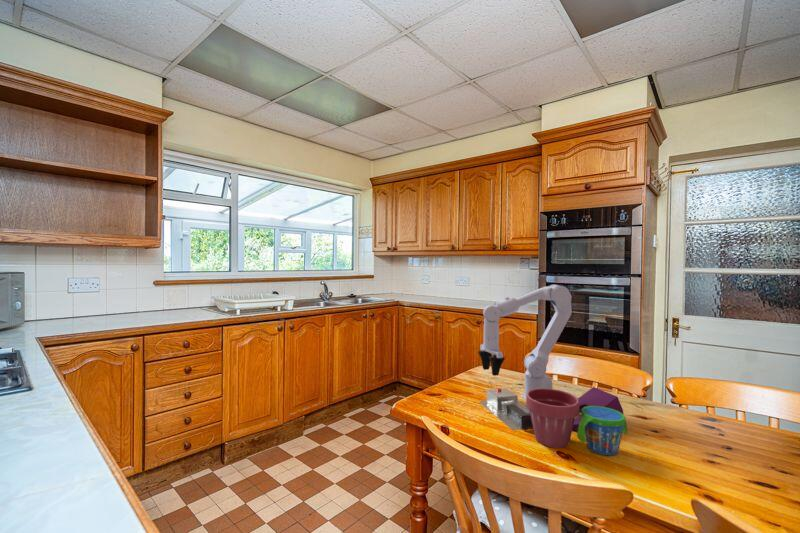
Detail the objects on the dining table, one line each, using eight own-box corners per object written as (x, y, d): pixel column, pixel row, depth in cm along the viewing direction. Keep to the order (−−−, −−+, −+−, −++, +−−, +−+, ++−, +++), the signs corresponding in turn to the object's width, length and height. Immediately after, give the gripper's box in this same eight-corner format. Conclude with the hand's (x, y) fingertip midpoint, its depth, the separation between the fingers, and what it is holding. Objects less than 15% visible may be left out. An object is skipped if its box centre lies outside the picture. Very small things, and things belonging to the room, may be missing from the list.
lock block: (506, 399, 138) (506, 386, 138) (517, 407, 130) (517, 393, 130) (486, 401, 136) (486, 388, 136) (497, 409, 128) (497, 395, 128)
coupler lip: (512, 398, 139) (512, 387, 139) (553, 426, 115) (552, 412, 115) (478, 402, 136) (478, 390, 136) (512, 431, 112) (512, 417, 112)
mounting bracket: (585, 452, 111) (626, 419, 116) (574, 428, 110) (617, 396, 114) (562, 438, 120) (602, 408, 125) (553, 416, 119) (593, 386, 124)
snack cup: (611, 437, 108) (611, 402, 108) (642, 455, 97) (642, 417, 97) (565, 443, 104) (564, 408, 104) (592, 463, 94) (592, 423, 94)
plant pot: (589, 452, 99) (589, 405, 99) (537, 453, 99) (537, 406, 99) (564, 428, 113) (564, 387, 113) (519, 429, 113) (519, 388, 113)
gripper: (473, 333, 147) (473, 367, 147) (490, 341, 133) (489, 378, 133) (489, 333, 149) (489, 366, 149) (508, 340, 134) (507, 377, 135)
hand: (490, 372), depth 141 cm, fingers open, 7 cm apart
